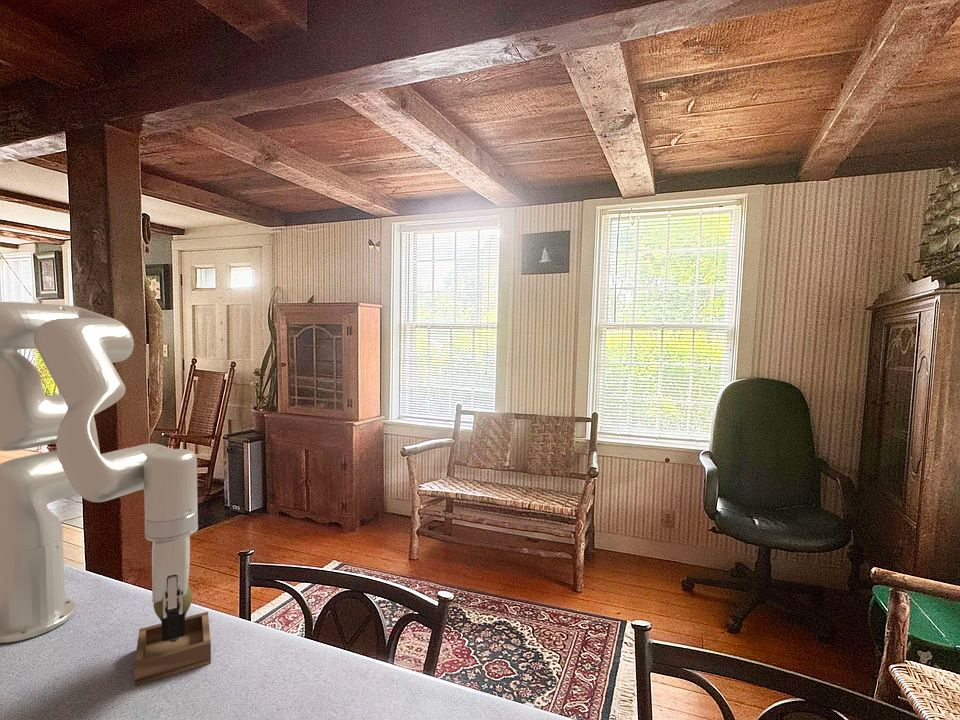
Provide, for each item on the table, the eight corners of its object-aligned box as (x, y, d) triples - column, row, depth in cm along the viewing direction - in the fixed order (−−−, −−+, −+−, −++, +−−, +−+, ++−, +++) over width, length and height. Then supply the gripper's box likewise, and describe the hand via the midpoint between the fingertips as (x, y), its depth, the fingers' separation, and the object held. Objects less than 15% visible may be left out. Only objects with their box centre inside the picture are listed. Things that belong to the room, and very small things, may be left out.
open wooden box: (139, 648, 84) (139, 628, 83) (208, 629, 89) (207, 611, 89) (134, 686, 75) (134, 664, 75) (210, 663, 80) (210, 642, 80)
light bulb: (174, 653, 78) (173, 594, 78) (145, 648, 80) (144, 590, 79) (200, 633, 84) (200, 577, 83) (173, 628, 85) (172, 574, 84)
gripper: (148, 511, 86) (150, 609, 87) (141, 549, 71) (143, 665, 72) (196, 504, 90) (198, 597, 91) (199, 538, 75) (200, 649, 76)
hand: (173, 626), depth 82 cm, fingers closed on light bulb, 5 cm apart
